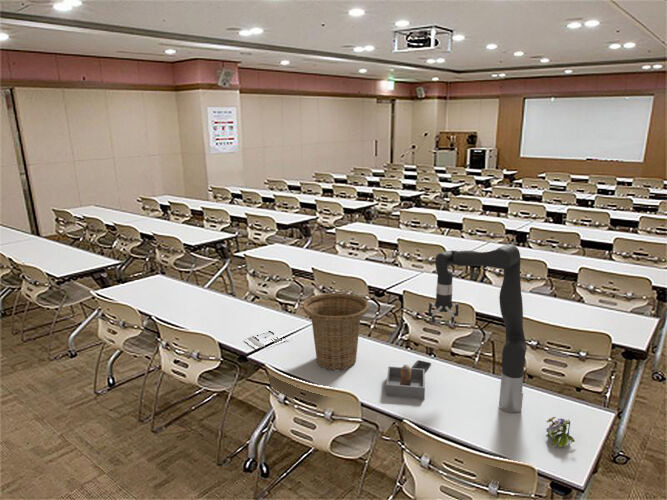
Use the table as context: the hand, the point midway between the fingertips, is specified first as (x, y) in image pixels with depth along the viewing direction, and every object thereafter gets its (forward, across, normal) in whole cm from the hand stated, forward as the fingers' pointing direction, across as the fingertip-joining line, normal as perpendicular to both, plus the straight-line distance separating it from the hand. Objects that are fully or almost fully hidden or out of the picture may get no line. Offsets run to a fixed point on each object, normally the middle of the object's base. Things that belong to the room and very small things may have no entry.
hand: (442, 322), depth 239 cm
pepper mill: (+29, -17, -12) cm, 36 cm away
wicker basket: (+30, -55, +10) cm, 64 cm away
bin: (+30, -17, -12) cm, 37 cm away
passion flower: (+30, +46, -43) cm, 70 cm away
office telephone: (+31, -101, +30) cm, 110 cm away
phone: (+31, -10, +8) cm, 33 cm away
